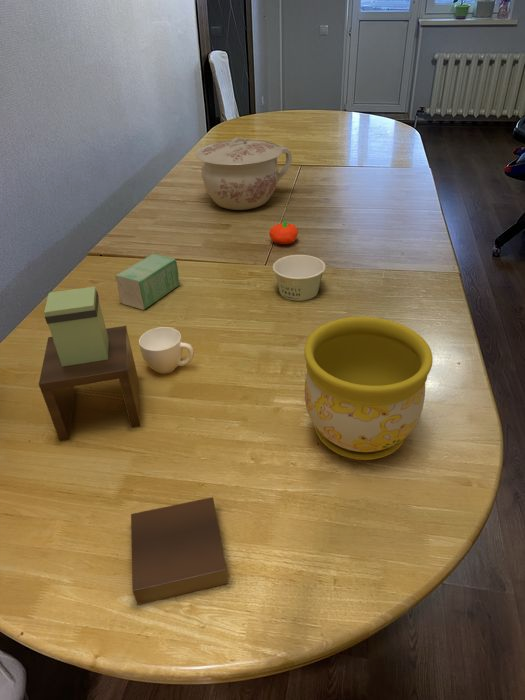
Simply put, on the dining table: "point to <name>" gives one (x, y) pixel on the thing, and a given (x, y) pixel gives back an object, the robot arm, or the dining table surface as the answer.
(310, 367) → the flowerpot
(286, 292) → the food container
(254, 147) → the chamber pot
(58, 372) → the wooden stool
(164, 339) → the cup
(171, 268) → the box
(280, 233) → the pumpkin
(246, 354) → the dining table surface
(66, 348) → the block
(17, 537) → the dining table surface
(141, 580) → the brown square tile
